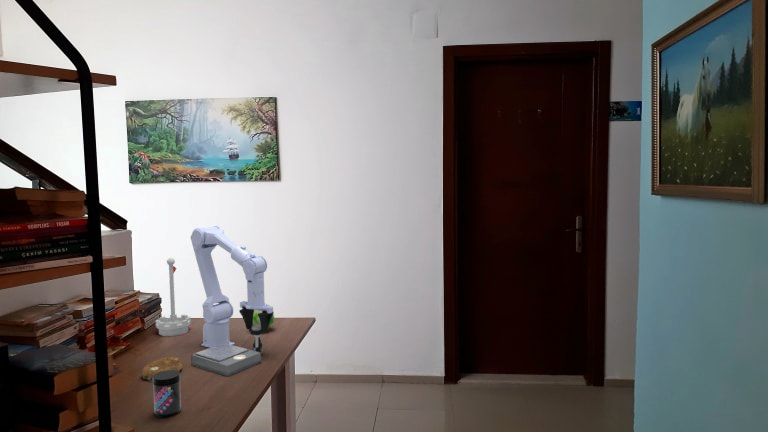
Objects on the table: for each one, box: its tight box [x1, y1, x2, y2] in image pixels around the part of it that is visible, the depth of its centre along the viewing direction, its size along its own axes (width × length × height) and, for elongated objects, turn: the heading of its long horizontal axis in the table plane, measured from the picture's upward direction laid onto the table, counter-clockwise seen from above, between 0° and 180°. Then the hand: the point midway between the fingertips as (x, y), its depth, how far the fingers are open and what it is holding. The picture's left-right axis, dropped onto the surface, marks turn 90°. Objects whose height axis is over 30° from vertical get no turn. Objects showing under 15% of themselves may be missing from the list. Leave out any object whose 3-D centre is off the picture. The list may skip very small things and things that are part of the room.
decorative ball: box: [253, 310, 275, 330], centre depth 211 cm, size 10×10×10 cm
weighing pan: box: [194, 343, 249, 362], centre depth 177 cm, size 12×12×1 cm
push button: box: [248, 325, 264, 354], centre depth 184 cm, size 7×5×10 cm
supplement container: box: [152, 370, 182, 418], centre depth 141 cm, size 7×7×10 cm
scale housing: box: [190, 348, 262, 377], centre depth 176 cm, size 18×14×4 cm
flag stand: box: [155, 257, 192, 337], centre depth 210 cm, size 13×13×30 cm
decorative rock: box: [140, 356, 183, 383], centre depth 169 cm, size 11×4×15 cm
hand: (256, 330), depth 184 cm, fingers open, 7 cm apart
